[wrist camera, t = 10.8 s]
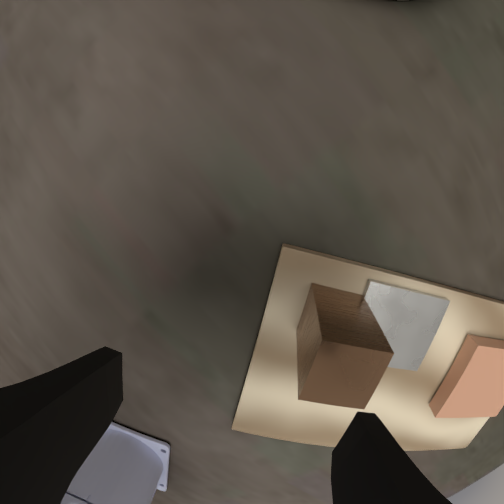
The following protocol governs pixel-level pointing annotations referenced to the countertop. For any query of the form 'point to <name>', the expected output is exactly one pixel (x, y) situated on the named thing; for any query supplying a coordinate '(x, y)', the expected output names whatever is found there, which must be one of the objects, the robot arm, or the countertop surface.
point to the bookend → (361, 339)
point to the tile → (473, 381)
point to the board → (391, 384)
